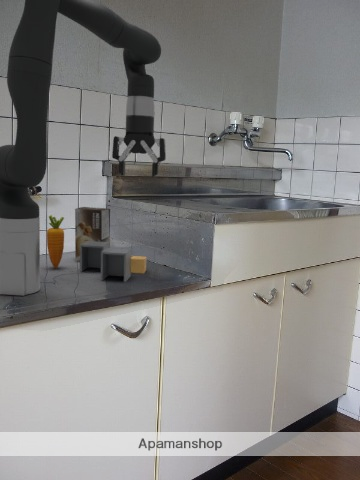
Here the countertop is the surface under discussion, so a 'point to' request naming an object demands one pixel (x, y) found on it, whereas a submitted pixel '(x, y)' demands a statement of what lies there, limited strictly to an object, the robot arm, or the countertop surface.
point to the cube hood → (116, 263)
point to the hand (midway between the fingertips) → (138, 176)
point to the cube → (138, 264)
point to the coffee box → (91, 226)
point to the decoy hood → (91, 254)
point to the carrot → (55, 241)
